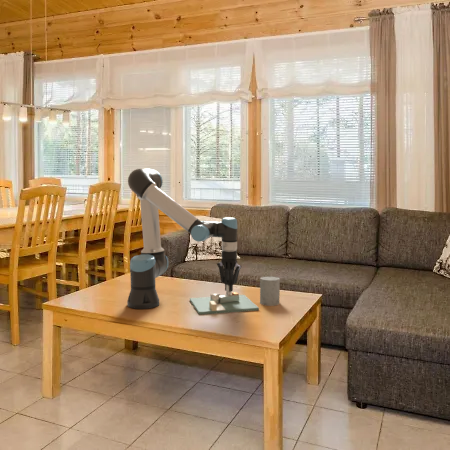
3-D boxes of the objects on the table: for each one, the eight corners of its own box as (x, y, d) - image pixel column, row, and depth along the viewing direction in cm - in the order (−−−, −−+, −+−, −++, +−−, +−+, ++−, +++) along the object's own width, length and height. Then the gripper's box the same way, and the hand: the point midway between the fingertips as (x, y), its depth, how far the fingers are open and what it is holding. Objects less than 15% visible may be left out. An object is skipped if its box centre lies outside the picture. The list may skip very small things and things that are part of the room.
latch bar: (212, 304, 230) (212, 296, 229) (208, 302, 234) (208, 293, 233) (239, 301, 236) (239, 293, 235) (235, 298, 240) (235, 290, 239)
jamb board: (199, 314, 219) (199, 305, 218) (189, 300, 242) (189, 292, 242) (258, 310, 226) (258, 301, 225) (244, 297, 249) (244, 288, 248)
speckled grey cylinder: (265, 306, 232) (265, 281, 231) (256, 301, 241) (256, 276, 239) (283, 304, 236) (283, 279, 234) (273, 299, 244) (274, 275, 243)
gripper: (213, 249, 236) (213, 297, 239) (236, 252, 229) (235, 301, 232) (222, 247, 242) (222, 293, 245) (244, 250, 235) (244, 297, 238)
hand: (228, 297), depth 239 cm, fingers closed
